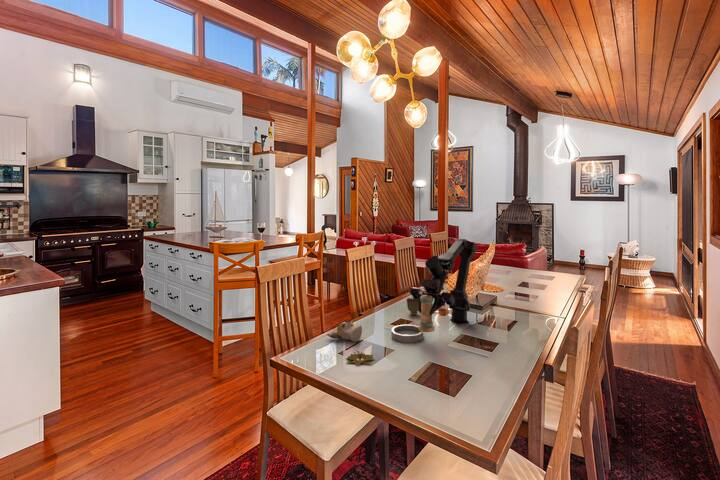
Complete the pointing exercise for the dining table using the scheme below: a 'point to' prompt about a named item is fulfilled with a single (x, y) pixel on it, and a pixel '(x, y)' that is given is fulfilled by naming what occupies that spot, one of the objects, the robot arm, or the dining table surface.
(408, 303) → the cup
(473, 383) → the dining table surface
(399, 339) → the round tray
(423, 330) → the disc
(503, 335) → the dining table surface
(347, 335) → the ceramic sculpture
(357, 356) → the lily flower
